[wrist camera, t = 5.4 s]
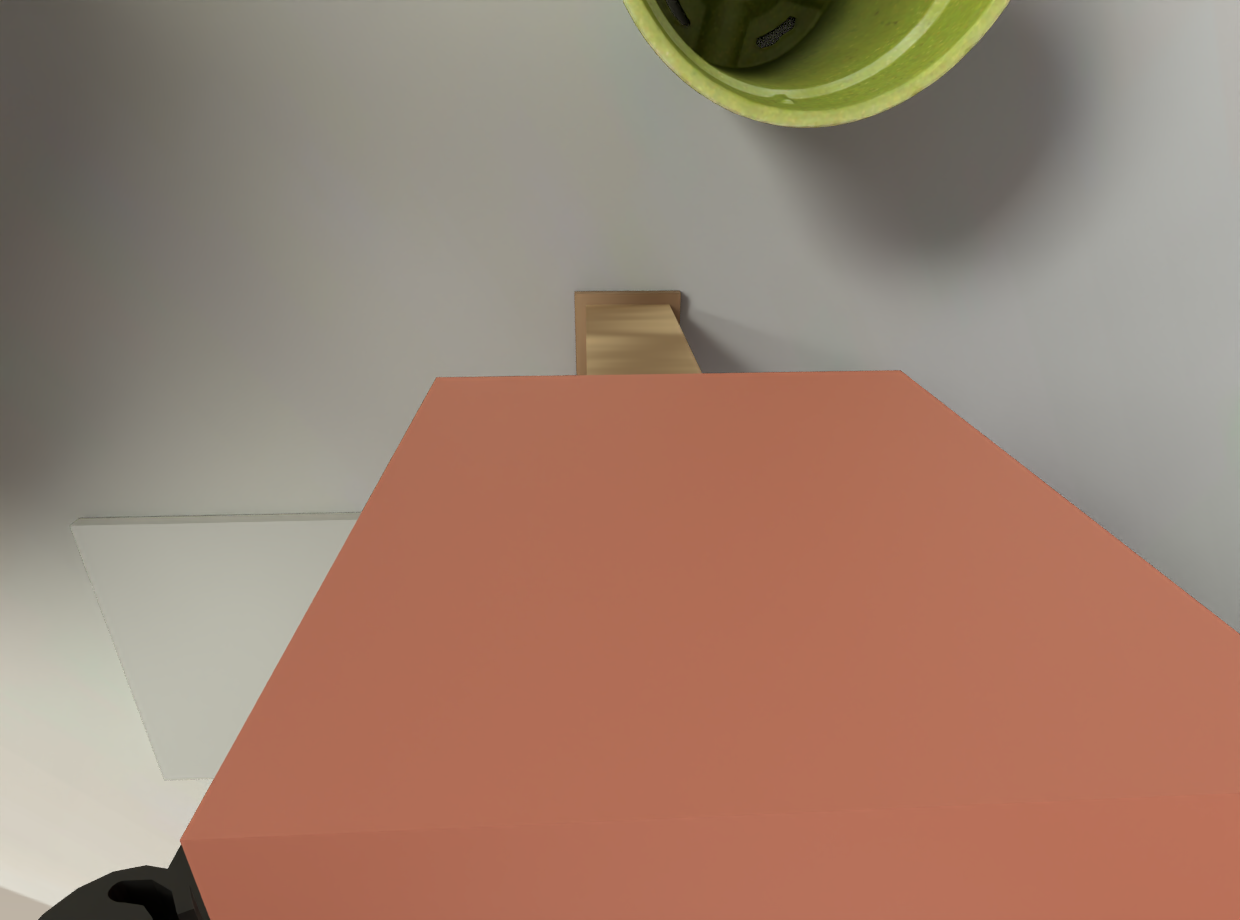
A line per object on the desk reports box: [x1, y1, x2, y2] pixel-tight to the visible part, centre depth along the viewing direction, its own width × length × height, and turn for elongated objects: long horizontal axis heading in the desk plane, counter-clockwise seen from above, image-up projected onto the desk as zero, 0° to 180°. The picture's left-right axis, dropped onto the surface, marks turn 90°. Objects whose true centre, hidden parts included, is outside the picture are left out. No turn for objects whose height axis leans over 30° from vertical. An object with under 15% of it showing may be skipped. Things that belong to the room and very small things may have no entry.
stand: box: [575, 291, 702, 375], centre depth 23 cm, size 4×4×10 cm
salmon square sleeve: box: [180, 370, 1240, 920], centre depth 9 cm, size 7×7×8 cm
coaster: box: [70, 512, 361, 781], centre depth 32 cm, size 14×14×1 cm
